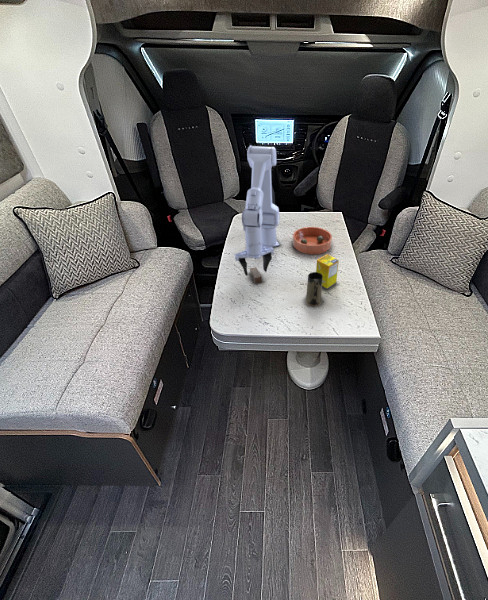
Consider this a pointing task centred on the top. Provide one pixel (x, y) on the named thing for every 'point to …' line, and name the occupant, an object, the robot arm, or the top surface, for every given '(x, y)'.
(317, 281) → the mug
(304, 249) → the bowl
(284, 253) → the top surface
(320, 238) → the bead
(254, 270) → the brown wooden block
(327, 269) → the supplement box
